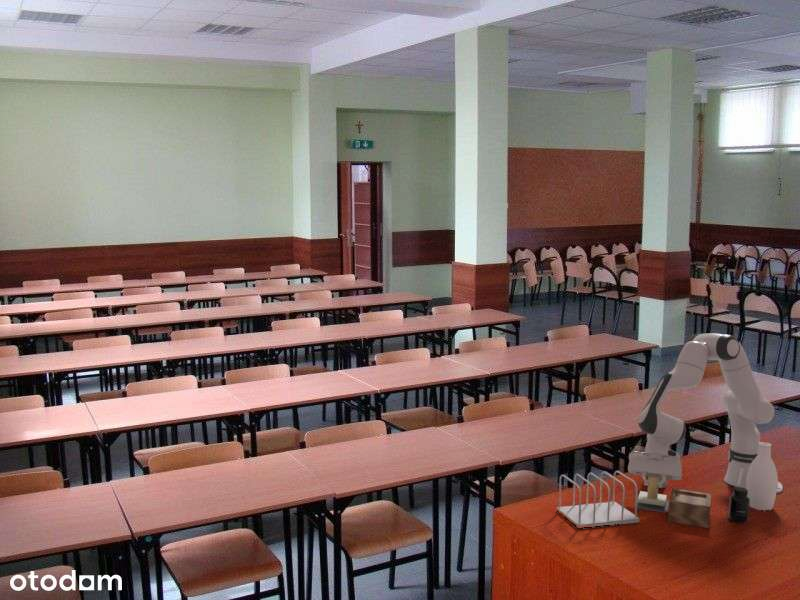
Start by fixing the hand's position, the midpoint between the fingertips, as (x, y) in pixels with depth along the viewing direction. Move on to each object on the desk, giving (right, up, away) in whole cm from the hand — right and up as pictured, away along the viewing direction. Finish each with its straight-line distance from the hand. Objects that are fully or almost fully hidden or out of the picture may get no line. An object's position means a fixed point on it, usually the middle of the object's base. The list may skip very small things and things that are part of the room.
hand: (652, 485), depth 300 cm
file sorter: (-25, -9, -11) cm, 29 cm away
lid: (0, -6, +1) cm, 6 cm away
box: (+10, -10, -10) cm, 17 cm away
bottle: (+43, -9, +2) cm, 44 cm away
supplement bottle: (+28, -10, -11) cm, 32 cm away
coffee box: (+9, -6, +25) cm, 27 cm away
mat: (0, -8, +2) cm, 8 cm away
